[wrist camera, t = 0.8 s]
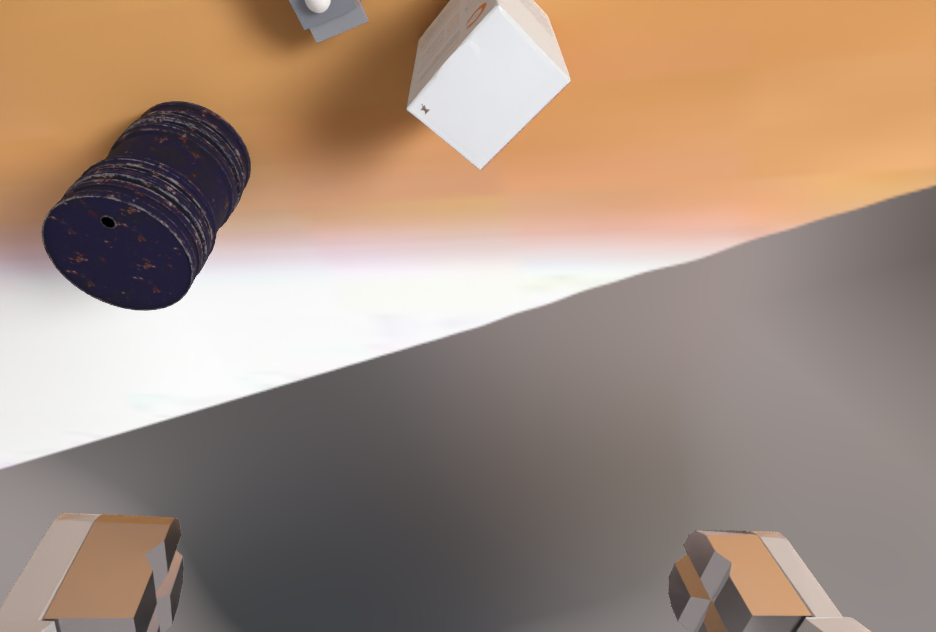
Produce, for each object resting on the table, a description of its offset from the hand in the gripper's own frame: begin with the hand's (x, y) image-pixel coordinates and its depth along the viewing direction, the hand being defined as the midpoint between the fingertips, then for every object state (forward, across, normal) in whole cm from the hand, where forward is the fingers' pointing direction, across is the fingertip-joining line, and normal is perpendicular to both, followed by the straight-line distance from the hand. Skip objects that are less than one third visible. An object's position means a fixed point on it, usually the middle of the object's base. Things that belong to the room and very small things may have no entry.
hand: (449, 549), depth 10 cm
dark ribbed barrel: (+49, +17, +9) cm, 52 cm away
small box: (+43, -6, -6) cm, 44 cm away
